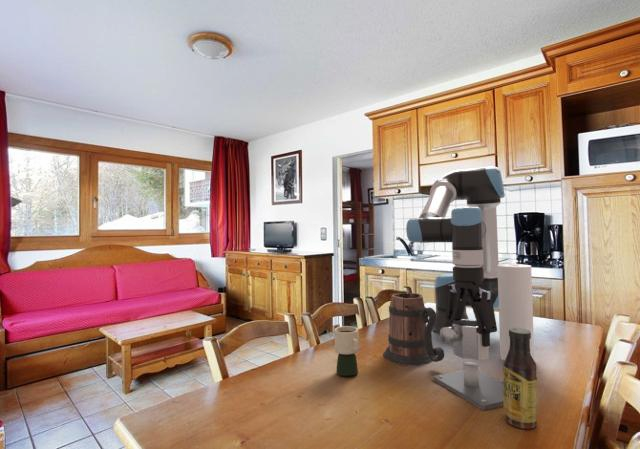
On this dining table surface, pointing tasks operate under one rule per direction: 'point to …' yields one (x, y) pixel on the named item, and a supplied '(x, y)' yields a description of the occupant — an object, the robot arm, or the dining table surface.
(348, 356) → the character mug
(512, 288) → the cylinder container
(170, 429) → the dining table surface
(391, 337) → the tankard
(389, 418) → the dining table surface
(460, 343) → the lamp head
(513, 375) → the sauce bottle
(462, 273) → the robot arm
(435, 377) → the grey peg base plate
